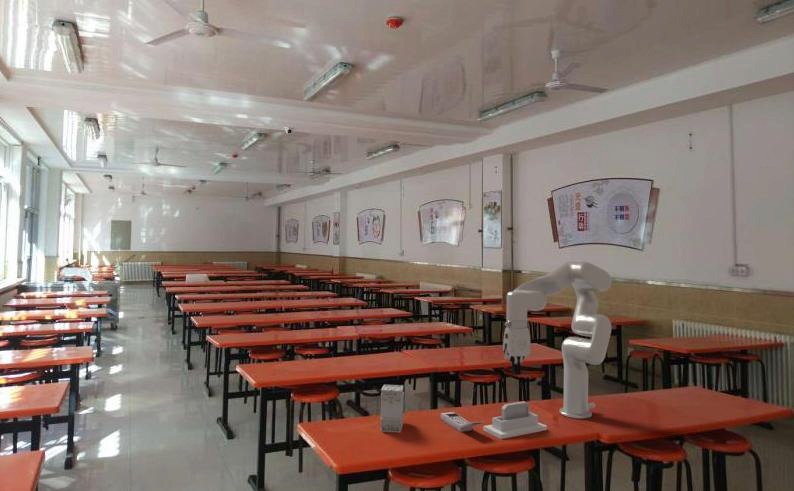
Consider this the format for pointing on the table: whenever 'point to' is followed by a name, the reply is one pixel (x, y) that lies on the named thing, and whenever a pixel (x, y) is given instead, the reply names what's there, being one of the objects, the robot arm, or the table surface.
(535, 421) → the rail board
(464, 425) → the mobile phone
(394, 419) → the circuit breaker
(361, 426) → the table surface
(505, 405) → the grey flat plate
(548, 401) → the table surface
